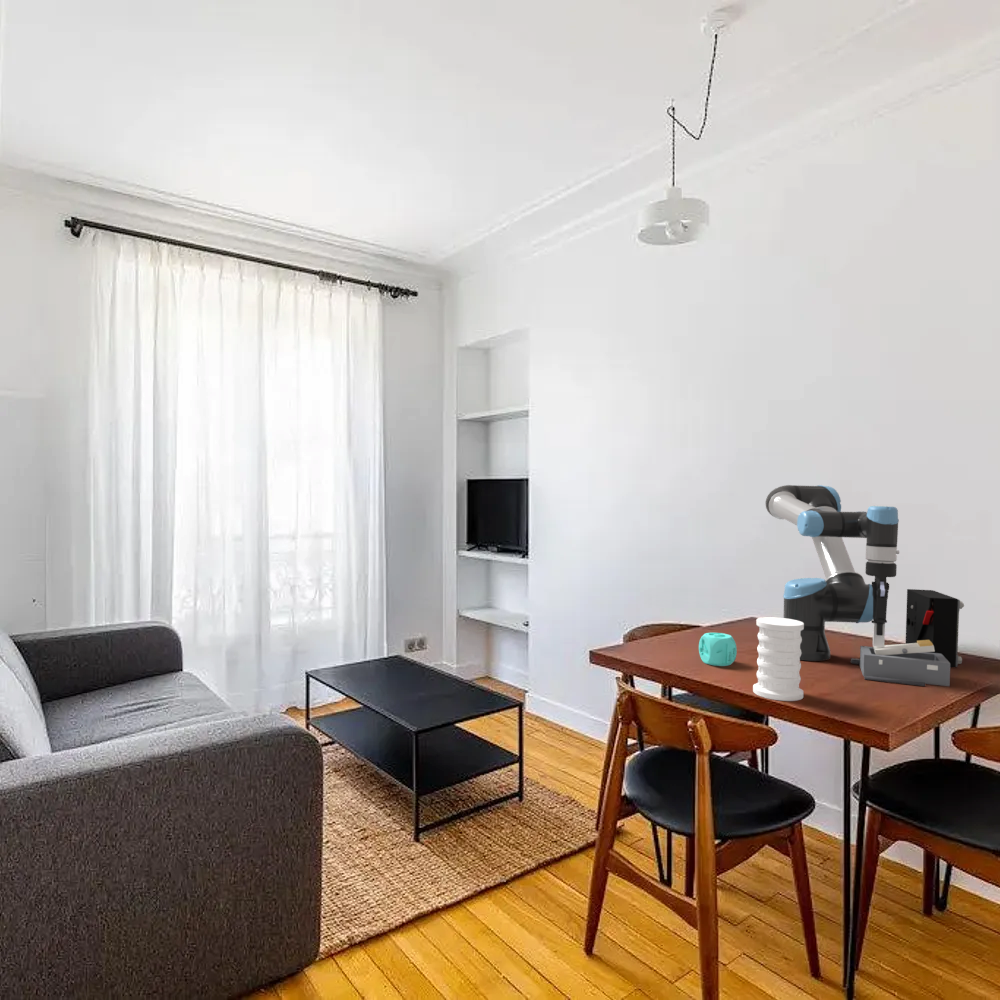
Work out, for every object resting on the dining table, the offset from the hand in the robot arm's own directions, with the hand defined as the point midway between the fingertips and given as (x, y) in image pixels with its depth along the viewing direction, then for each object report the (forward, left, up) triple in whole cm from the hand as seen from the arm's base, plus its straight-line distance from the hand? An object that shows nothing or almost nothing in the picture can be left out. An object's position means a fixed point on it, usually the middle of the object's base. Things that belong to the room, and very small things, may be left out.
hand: (878, 646), depth 192 cm
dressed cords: (+6, +10, -8) cm, 14 cm away
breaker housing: (+6, 0, -8) cm, 10 cm away
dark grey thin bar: (+3, -9, -8) cm, 12 cm away
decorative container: (-25, -34, -8) cm, 43 cm away
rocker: (+6, 0, 0) cm, 6 cm away
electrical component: (+17, +26, -8) cm, 32 cm away
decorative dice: (-42, -9, -8) cm, 44 cm away
